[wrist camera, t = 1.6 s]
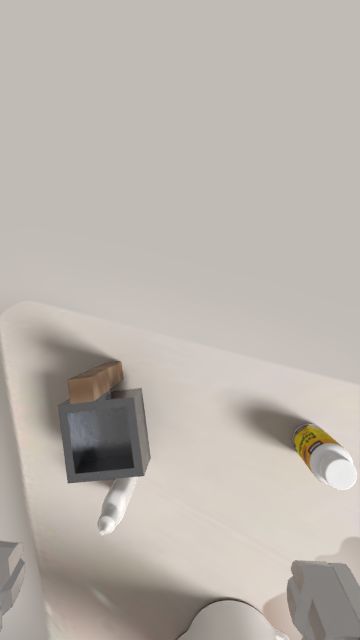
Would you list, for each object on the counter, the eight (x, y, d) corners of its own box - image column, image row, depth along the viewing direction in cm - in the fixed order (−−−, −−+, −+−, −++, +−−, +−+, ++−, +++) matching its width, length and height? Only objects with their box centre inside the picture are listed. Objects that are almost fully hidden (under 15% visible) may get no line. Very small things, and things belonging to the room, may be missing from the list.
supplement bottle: (300, 416, 44) (331, 444, 34) (331, 432, 43) (372, 466, 33) (284, 446, 44) (311, 483, 34) (315, 462, 43) (351, 505, 33)
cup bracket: (154, 445, 45) (137, 494, 32) (93, 452, 46) (52, 502, 33) (143, 359, 46) (121, 373, 33) (82, 366, 46) (37, 383, 33)
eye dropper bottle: (107, 479, 46) (75, 535, 34) (130, 457, 46) (106, 505, 34) (124, 498, 46) (98, 561, 34) (147, 476, 45) (129, 531, 33)
